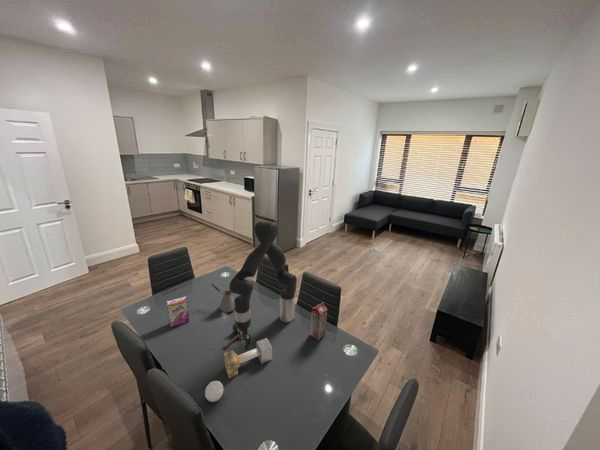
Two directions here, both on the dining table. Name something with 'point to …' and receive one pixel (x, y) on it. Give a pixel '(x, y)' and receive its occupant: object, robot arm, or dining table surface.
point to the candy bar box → (177, 311)
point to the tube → (247, 355)
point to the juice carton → (318, 321)
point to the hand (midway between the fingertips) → (243, 343)
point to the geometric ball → (214, 391)
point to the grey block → (264, 350)
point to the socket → (231, 363)
